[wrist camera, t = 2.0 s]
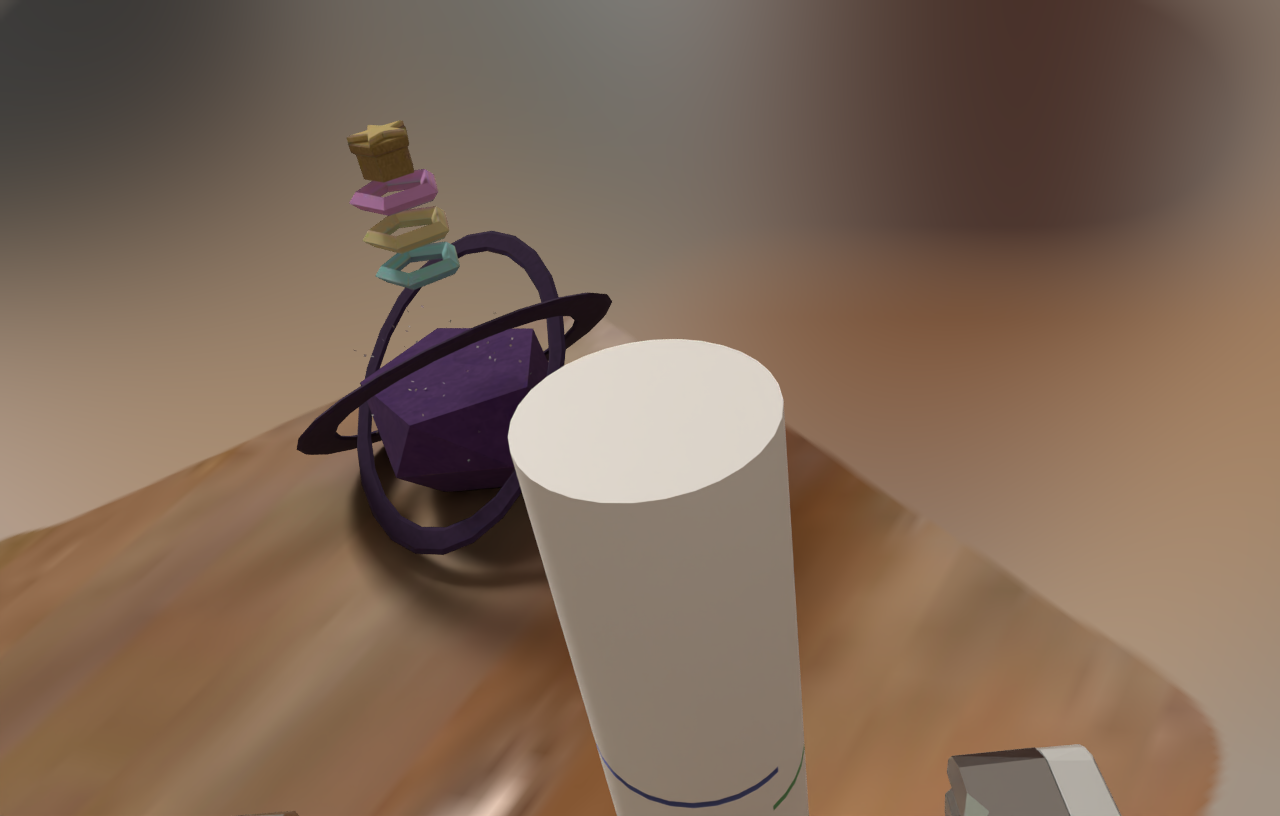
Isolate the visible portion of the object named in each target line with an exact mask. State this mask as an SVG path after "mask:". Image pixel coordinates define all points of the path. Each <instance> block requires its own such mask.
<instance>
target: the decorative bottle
mask: <svg viewBox="0 0 1280 816" xmlns="http://www.w3.org/2000/svg"><path fill="white" fill-rule="evenodd" d="M347 140H348V145H349V148H350V151H351V153H353V154H355V155H356V156H357V159H358V162H359V165H360V168H361V171H362V174H363V177H364V179H366V180H372V181H371V182H370V183H368V184H367V185H365V186H364V187H362V188H361V189H359V190H358V191H356V192H355V194H354V196H353V198H352V199H351V201H350V204H352V205H353V206H355V207H357V208H359V209H361V210H364V211H369V212H374V213H378V214H383V215H387V217H386V218H384V219H383V220H382V221H380V222H379V223H378V224H376V225H375V226H373V227H372V228H371V229H370V230H368V232H367V234H366V236H365V238H364V239H363V241H364V242H366V243H368V244H370V245H372V246H374V247H377V248H381V249H385V250H389V251H393V252H397V254H396V255H394V256H393V257H392V258H391V259H389V260H388V261H387V262H386V263H384V264H383V265H382V266H381V267H380V269H379V271H378V272H377V274H376V277H378V278H380V279H382V280H384V281H386V282H388V283H392V284H396V285H399V286H403V287H405V289H404V290H403V291H402V293H401V294H400V295H399V297H398V298H397V301H396V302H395V304H394V306H393V308H392V310H391V312H390V313H389V316H388V317H387V319H386V321H385V323H384V325H383V327H382V328H381V330H380V333H379V336H378V339H377V342H376V344H375V347H374V350H373V353H372V355H371V358H370V361H369V364H368V367H367V371H366V376H365V380H363V381H362V382H361V383H360V384H361V387H359V388H357V389H356V390H354V391H353V392H351V393H349V394H348V395H346V396H345V397H343V398H342V399H340V400H339V401H338V402H337V403H335V404H334V405H333V406H331V407H330V408H329V409H328V410H326V411H325V412H324V413H322V414H321V415H320V416H319V417H317V418H316V419H315V420H314V421H313V422H312V424H311V425H310V426H309V427H308V428H307V429H306V430H305V432H304V433H303V434H302V435H301V436H300V438H299V439H298V445H297V450H299V451H301V452H302V453H304V454H308V455H318V454H332V453H336V452H341V451H346V450H351V449H355V448H357V451H358V459H359V466H360V474H361V482H362V486H363V489H364V492H365V494H366V497H367V500H368V503H369V506H370V508H371V511H372V514H373V516H374V518H375V519H376V520H377V522H378V523H379V524H380V526H381V527H382V528H383V529H384V531H385V532H386V533H387V535H388V536H389V537H390V539H391V540H392V541H394V542H396V543H398V544H399V545H401V546H403V547H405V548H406V549H408V550H410V551H412V552H414V553H415V554H438V555H444V554H447V553H449V552H452V551H454V550H457V549H459V548H462V547H464V546H467V545H469V544H471V543H474V542H475V541H476V540H477V539H479V538H480V537H481V536H482V535H483V534H484V533H486V532H487V531H488V530H489V529H490V528H492V527H493V526H494V525H495V524H496V523H497V522H499V521H500V520H501V519H502V518H503V517H504V516H505V514H506V513H507V512H508V510H509V509H510V507H511V506H512V505H513V503H514V502H515V501H516V499H517V498H518V497H519V495H520V494H521V492H522V491H521V487H520V484H519V480H518V477H517V474H516V470H515V467H514V463H513V460H512V457H511V453H510V448H509V442H508V433H509V427H510V421H511V419H512V417H513V415H514V413H515V411H516V409H517V407H518V405H519V404H520V403H521V401H522V400H523V399H524V398H525V396H526V395H527V394H528V393H529V392H530V390H531V389H533V388H534V387H535V386H536V385H537V384H539V383H540V382H541V381H542V380H543V379H545V378H546V377H547V376H549V375H550V374H552V373H553V372H555V371H557V370H558V369H560V368H561V367H563V366H564V362H565V352H566V349H567V348H568V347H570V346H571V345H572V344H574V343H575V342H576V341H578V340H579V339H580V338H581V337H583V336H584V335H585V334H587V333H588V332H589V331H590V330H591V329H592V328H593V327H594V326H595V325H596V324H597V323H598V322H599V321H600V320H601V319H602V318H603V317H604V316H605V315H606V313H607V311H608V309H609V307H610V305H611V303H612V301H611V299H610V298H609V296H608V295H607V294H598V293H581V294H576V295H570V296H565V297H558V294H557V291H556V287H555V284H554V281H553V278H552V275H551V274H550V272H549V271H548V269H547V268H546V266H545V265H544V263H543V262H542V260H541V258H540V257H539V255H538V254H537V252H536V251H535V250H534V249H532V248H531V247H529V246H528V245H527V244H525V243H524V242H523V241H521V240H520V239H518V238H517V237H516V236H513V235H508V234H504V233H500V232H495V231H488V232H482V233H476V234H470V235H467V236H465V237H463V238H461V239H459V240H457V241H455V242H454V243H452V244H450V243H447V242H439V243H432V242H436V241H438V240H441V239H444V238H445V236H446V234H447V233H448V231H449V227H448V223H447V218H446V215H445V211H443V210H441V209H440V208H438V207H436V206H433V207H426V208H418V209H411V208H414V207H417V206H420V205H422V204H425V203H428V202H431V201H433V200H434V198H435V196H436V195H437V193H438V189H437V184H436V180H435V177H434V174H432V173H431V172H429V171H427V170H425V169H421V170H414V168H413V163H412V160H411V157H410V153H409V150H408V146H409V141H408V135H407V131H406V127H405V126H404V124H403V121H401V120H399V121H396V122H393V123H389V124H386V125H383V126H375V125H368V129H367V130H366V131H363V132H360V133H357V134H354V135H351V136H349V137H347ZM400 190H404V191H402V192H399V193H396V194H393V195H390V196H387V197H384V198H383V197H381V196H383V195H384V194H386V193H387V192H392V191H400ZM408 209H410V210H408ZM421 225H427V226H424V227H421V228H418V229H416V230H413V231H410V232H408V233H405V234H402V235H399V236H392V235H391V234H392V233H394V232H395V231H396V230H397V229H399V228H405V227H412V226H421ZM430 243H431V244H430ZM484 251H489V252H493V253H498V254H502V255H506V256H508V257H510V258H511V259H512V260H513V261H514V262H516V263H517V264H518V265H520V266H521V267H522V268H524V269H525V271H526V272H527V274H528V275H529V277H530V279H531V280H532V282H533V283H534V285H535V287H536V288H537V290H538V292H539V295H540V299H541V302H542V303H538V304H535V305H532V306H529V307H525V308H522V309H519V310H516V311H514V312H511V313H509V314H506V315H503V316H501V317H498V318H496V319H493V320H491V321H488V322H486V323H483V324H481V325H478V326H476V327H473V328H463V329H461V328H437V329H436V330H434V331H433V332H431V333H430V334H429V335H427V336H426V337H424V338H423V339H421V340H420V341H419V342H418V341H416V344H414V345H413V346H412V347H410V348H409V349H407V350H406V351H404V352H403V353H402V354H400V355H399V356H397V357H396V358H395V359H393V360H392V361H390V362H389V363H387V364H386V365H385V366H383V367H382V368H380V366H381V363H382V360H383V357H384V354H385V351H386V349H387V345H388V343H389V340H390V337H391V335H392V333H393V332H394V330H395V328H396V326H397V324H398V322H399V320H400V318H401V316H402V314H403V313H404V311H405V309H406V307H407V306H408V305H409V303H410V302H411V301H412V299H413V298H414V297H415V295H416V294H417V293H418V291H419V290H420V289H421V287H423V286H425V285H427V284H430V283H433V282H435V281H438V280H441V279H443V278H446V277H448V276H450V275H453V274H455V273H456V271H457V270H458V268H459V267H460V265H459V260H458V258H460V257H462V256H464V255H466V254H471V253H478V252H484ZM427 260H429V261H428V262H427V263H426V264H425V265H423V266H422V267H421V268H420V269H419V270H416V271H414V272H411V273H406V272H402V271H401V270H402V269H403V268H404V267H405V266H407V265H408V264H409V263H410V262H418V261H427ZM422 307H423V306H422ZM494 314H496V313H494ZM563 316H571V317H572V318H573V319H574V320H575V321H574V324H573V326H572V327H571V328H570V329H569V331H568V332H567V333H566V334H565V335H564V324H563ZM541 319H547V331H548V345H549V348H548V349H547V350H545V351H544V352H543V350H542V348H541V346H540V343H539V341H538V339H537V337H536V335H535V332H534V330H533V329H511V328H514V327H518V326H521V325H524V324H527V323H530V322H533V321H536V320H541ZM450 322H451V320H450ZM406 332H407V331H406ZM364 356H366V355H364ZM358 407H359V418H358V435H354V436H340V435H339V434H338V433H337V432H336V431H337V428H338V425H339V424H340V423H341V422H342V421H343V420H344V419H345V418H346V417H347V416H348V415H349V414H350V413H351V412H353V411H354V410H355V409H357V408H358ZM372 416H373V418H374V421H375V423H376V426H377V428H378V430H377V431H374V432H371V426H372ZM381 440H382V441H383V444H384V447H385V449H386V452H387V455H388V457H389V460H390V462H391V465H392V468H393V470H394V473H395V475H396V478H399V479H402V480H406V481H409V482H413V483H416V484H420V485H423V486H427V487H430V488H434V489H437V490H440V491H444V492H450V491H464V490H475V489H487V488H498V487H502V488H501V489H500V491H499V492H498V493H497V495H496V496H495V497H494V498H493V499H491V500H490V501H489V502H488V503H487V504H486V505H484V506H483V507H482V508H481V509H480V510H479V511H477V512H476V513H475V514H474V515H473V516H471V517H470V518H467V519H465V520H462V521H460V522H458V523H455V524H453V525H450V526H448V527H421V526H419V525H417V524H415V523H414V522H412V521H410V520H408V519H406V518H404V517H402V516H401V515H400V514H399V512H398V511H397V510H396V509H395V507H394V506H393V505H392V504H391V502H390V501H389V500H388V498H387V497H386V496H385V493H384V491H383V488H382V485H381V483H380V480H379V477H378V475H377V472H376V469H375V463H374V456H373V448H372V443H375V442H378V441H381Z"/></svg>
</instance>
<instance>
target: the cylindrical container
mask: <svg viewBox="0 0 1280 816" xmlns="http://www.w3.org/2000/svg"><path fill="white" fill-rule="evenodd" d="M508 442H509V448H510V453H511V457H512V460H513V463H514V467H515V470H516V474H517V477H518V480H519V484H520V487H521V491H522V494H523V497H524V501H525V504H526V508H527V511H528V514H529V518H530V521H531V525H532V528H533V531H534V535H535V538H536V542H537V545H538V548H539V552H540V555H541V559H542V562H543V565H544V569H545V572H546V576H547V579H548V582H549V586H550V589H551V593H552V596H553V599H554V603H555V606H556V610H557V613H558V616H559V620H560V623H561V627H562V630H563V633H564V637H565V640H566V644H567V647H568V650H569V654H570V657H571V660H572V664H573V667H574V671H575V674H576V677H577V681H578V684H579V688H580V691H581V694H582V698H583V701H584V705H585V708H586V711H587V715H588V718H589V722H590V725H591V728H592V732H593V735H594V738H595V742H596V745H597V749H598V752H599V755H600V759H601V762H602V766H603V769H604V772H605V776H606V779H607V783H608V786H609V789H610V793H611V796H612V800H613V803H614V806H615V810H616V813H617V816H809V810H808V794H807V779H806V763H805V747H804V732H803V714H802V696H801V680H800V663H799V647H798V631H797V614H796V598H795V582H794V565H793V549H792V533H791V516H790V500H789V484H788V467H787V451H786V435H785V418H784V403H783V397H782V394H781V390H780V387H779V384H778V383H777V381H776V380H775V379H774V377H773V375H772V374H771V373H770V371H769V370H767V369H766V368H765V367H764V366H763V365H762V364H760V363H759V362H758V361H757V360H755V359H753V358H751V357H750V356H748V355H746V354H744V353H742V352H740V351H737V350H734V349H731V348H729V347H726V346H723V345H718V344H713V343H708V342H704V341H695V340H681V339H667V340H666V339H664V340H648V341H641V342H634V343H627V344H623V345H619V346H615V347H611V348H607V349H603V350H601V351H598V352H595V353H592V354H589V355H586V356H584V357H582V358H579V359H577V360H575V361H573V362H571V363H569V364H567V365H565V366H563V367H561V368H560V369H558V370H557V371H555V372H553V373H552V374H550V375H549V376H547V377H546V378H545V379H543V380H542V381H541V382H540V383H539V384H537V385H536V386H535V387H534V388H533V389H531V390H530V392H529V393H528V394H527V395H526V396H525V398H524V399H523V400H522V401H521V403H520V404H519V405H518V407H517V409H516V411H515V413H514V415H513V417H512V419H511V421H510V427H509V433H508Z"/></svg>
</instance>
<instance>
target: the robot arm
mask: <svg viewBox="0 0 1280 816" xmlns="http://www.w3.org/2000/svg"><path fill="white" fill-rule="evenodd" d="M947 774H948V777H949V780H950V784H951V787H952V788H951V789H950V790H949V791H948V792H947V793H946V794H945V816H1121V814H1120V812H1119V810H1118V808H1117V805H1116V803H1115V801H1114V799H1113V797H1112V795H1111V793H1110V791H1109V789H1108V787H1107V785H1106V783H1105V780H1104V778H1103V776H1102V774H1101V772H1100V770H1099V768H1098V766H1097V764H1096V762H1095V760H1094V758H1093V756H1092V754H1091V753H1090V752H1089V751H1088V750H1087V749H1086V748H1085V747H1084V746H1081V745H1079V744H1076V745H1065V746H1054V747H1042V748H1035V747H1034V748H1025V749H1015V750H1005V751H996V752H986V753H976V754H966V755H957V756H951V757H950V758H949V760H948V768H947ZM238 816H299V815H298V814H297V813H296V811H286V812H274V813H262V814H250V815H238Z"/></svg>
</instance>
